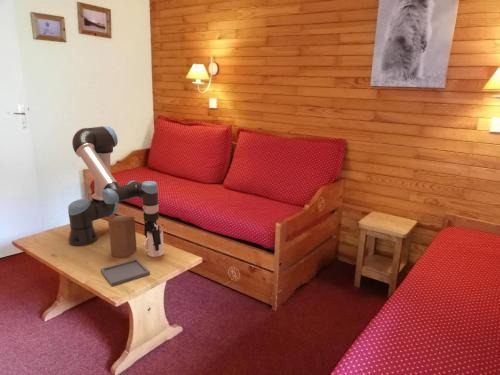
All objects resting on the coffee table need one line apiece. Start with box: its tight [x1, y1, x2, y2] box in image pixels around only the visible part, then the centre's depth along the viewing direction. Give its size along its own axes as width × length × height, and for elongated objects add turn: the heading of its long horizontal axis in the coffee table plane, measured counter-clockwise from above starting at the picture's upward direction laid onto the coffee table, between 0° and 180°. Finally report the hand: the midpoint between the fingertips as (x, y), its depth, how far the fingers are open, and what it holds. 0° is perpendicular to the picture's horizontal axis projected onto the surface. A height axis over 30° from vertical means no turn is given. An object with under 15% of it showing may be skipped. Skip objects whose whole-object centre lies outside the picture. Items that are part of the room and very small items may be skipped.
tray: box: [100, 258, 151, 287], centre depth 178 cm, size 16×18×2 cm
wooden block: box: [107, 214, 138, 259], centre depth 196 cm, size 10×10×20 cm
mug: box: [143, 228, 165, 258], centre depth 193 cm, size 12×8×12 cm
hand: (153, 252), depth 195 cm, fingers closed on mug, 8 cm apart
